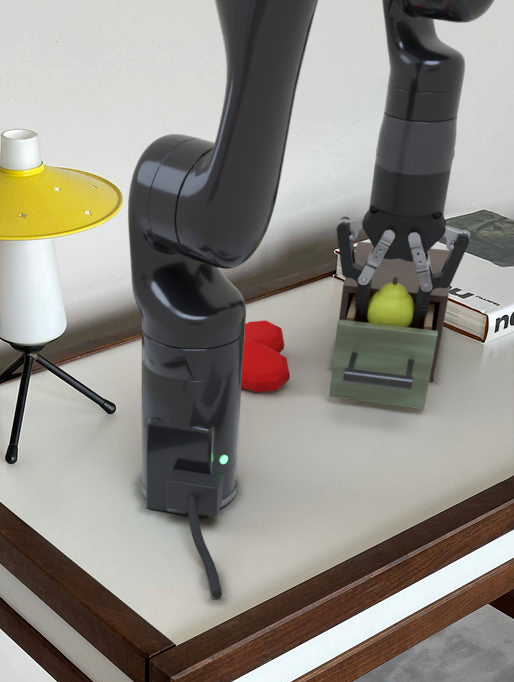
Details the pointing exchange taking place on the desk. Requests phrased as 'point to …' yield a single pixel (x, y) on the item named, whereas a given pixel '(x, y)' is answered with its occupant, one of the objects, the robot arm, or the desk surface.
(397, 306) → the pear
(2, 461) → the desk surface
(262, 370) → the heart
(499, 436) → the desk surface
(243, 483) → the desk surface
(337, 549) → the desk surface
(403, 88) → the robot arm
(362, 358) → the drawer
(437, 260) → the cabinet
